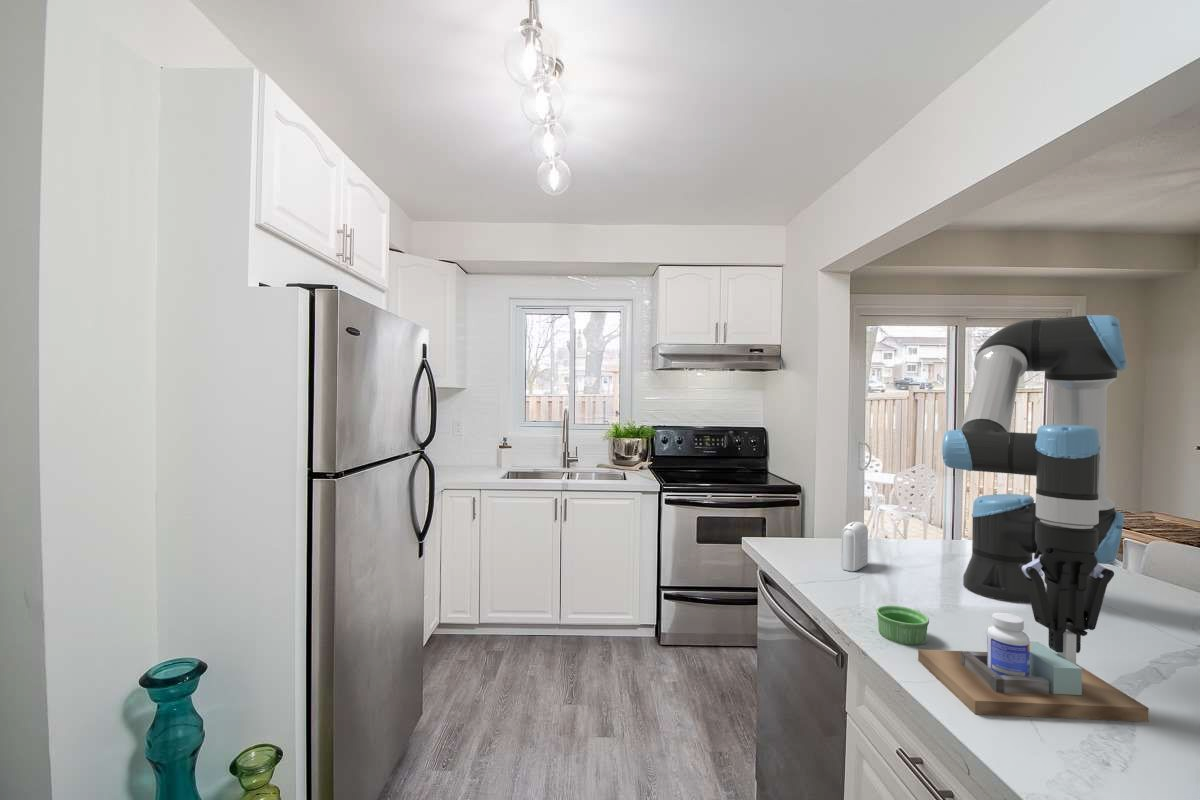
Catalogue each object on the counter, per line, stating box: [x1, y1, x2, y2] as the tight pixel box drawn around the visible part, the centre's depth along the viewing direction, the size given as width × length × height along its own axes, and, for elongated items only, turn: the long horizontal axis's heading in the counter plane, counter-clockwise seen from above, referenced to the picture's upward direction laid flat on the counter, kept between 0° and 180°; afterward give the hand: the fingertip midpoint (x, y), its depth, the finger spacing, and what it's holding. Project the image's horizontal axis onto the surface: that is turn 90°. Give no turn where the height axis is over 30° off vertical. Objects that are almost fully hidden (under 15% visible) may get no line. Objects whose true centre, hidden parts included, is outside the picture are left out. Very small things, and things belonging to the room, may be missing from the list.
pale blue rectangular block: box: [1030, 641, 1083, 695], centre depth 85 cm, size 4×9×4 cm, turn 176°
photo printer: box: [840, 521, 869, 572], centre depth 147 cm, size 10×4×12 cm, turn 134°
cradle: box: [917, 649, 1150, 723], centre depth 86 cm, size 24×16×4 cm, turn 86°
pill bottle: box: [986, 612, 1031, 677], centre depth 86 cm, size 5×5×10 cm
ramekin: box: [876, 605, 930, 646], centre depth 105 cm, size 9×9×4 cm
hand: (1064, 671), depth 85 cm, fingers closed
